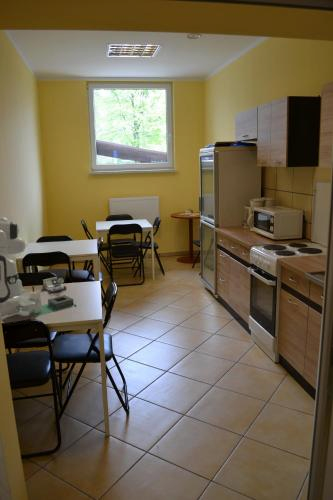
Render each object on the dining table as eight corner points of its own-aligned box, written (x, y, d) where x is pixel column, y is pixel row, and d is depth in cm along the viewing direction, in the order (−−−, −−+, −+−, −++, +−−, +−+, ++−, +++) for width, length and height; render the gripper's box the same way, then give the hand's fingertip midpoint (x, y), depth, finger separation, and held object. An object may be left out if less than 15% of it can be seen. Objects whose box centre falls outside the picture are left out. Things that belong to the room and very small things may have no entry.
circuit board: (25, 311, 241) (25, 310, 240) (65, 300, 257) (65, 299, 257) (35, 318, 230) (35, 316, 229) (76, 306, 246) (76, 304, 246)
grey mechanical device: (66, 277, 275) (50, 281, 268) (68, 291, 277) (52, 295, 271) (56, 272, 289) (41, 275, 282) (57, 285, 291) (42, 289, 284)
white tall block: (32, 311, 238) (28, 285, 234) (39, 309, 240) (35, 284, 237) (34, 313, 234) (31, 287, 231) (42, 311, 237) (39, 285, 234)
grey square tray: (48, 304, 248) (47, 299, 247) (65, 300, 255) (64, 294, 254) (56, 309, 239) (55, 303, 239) (73, 304, 246) (73, 299, 246)
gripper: (20, 305, 219) (43, 298, 228) (6, 296, 234) (29, 290, 243) (21, 315, 221) (45, 309, 229) (8, 306, 236) (30, 300, 245)
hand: (37, 299), depth 236 cm, fingers closed on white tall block, 4 cm apart
